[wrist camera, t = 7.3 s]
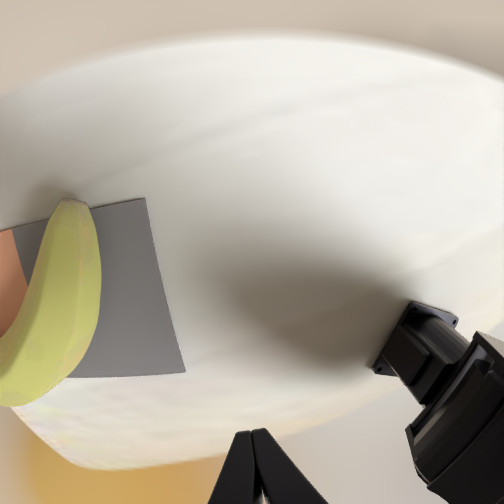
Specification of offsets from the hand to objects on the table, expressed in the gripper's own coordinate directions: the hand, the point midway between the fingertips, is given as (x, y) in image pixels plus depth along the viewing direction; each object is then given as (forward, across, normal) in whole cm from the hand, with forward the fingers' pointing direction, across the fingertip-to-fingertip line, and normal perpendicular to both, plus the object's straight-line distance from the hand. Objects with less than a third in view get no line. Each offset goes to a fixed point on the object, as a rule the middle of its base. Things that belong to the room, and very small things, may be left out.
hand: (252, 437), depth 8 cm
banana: (+12, +17, 0) cm, 21 cm away
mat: (+12, +9, 0) cm, 15 cm away
